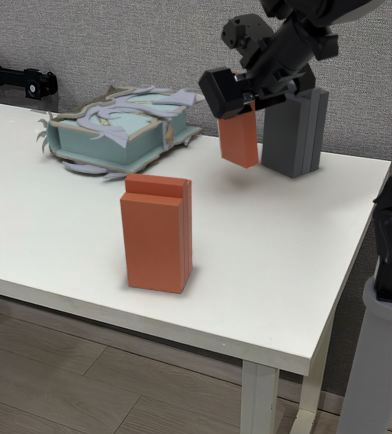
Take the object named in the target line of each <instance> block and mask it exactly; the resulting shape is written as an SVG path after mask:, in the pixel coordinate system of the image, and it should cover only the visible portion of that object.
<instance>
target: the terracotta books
mask: <svg viewBox="0 0 392 434" xmlns="http://www.w3.org/2000/svg"><path fill="white" fill-rule="evenodd" d="M192 184H193V183H192V179H187V178H183V177H174V176H163V175H154V174H143V173H129V175H128V176H125V178H124V190H125V192H124V193H123V195H122V196H120V198H119V206H120V215H121V226H122V235H123V246H124V257H125V265H126V275H127V276H126V277H127V285H128V287H131V288H138V289H146V290H152V291H159V292H166V293H173V294H180V295H181V294H182V292H183V290H184V288H185V286H186V284H187V282H188V279H189V277H190V275H191V273H192V271H193V193H192V192H193V188H192Z"/></svg>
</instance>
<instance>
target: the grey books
mask: <svg viewBox="0 0 392 434" xmlns="http://www.w3.org/2000/svg"><path fill="white" fill-rule="evenodd" d="M287 86H288V88H289V90H288V91H287V92H286V93H285V96H286V99H287V100H286V102H284V103H281V104H278V105H274V106H271V107H268V108H265V109H264V116H263V131H262V143H261V144H262V145H261V159H260V165H262V166H264V167H267V168H269V169H271V170H273V171H275V172H277V173H279V174H281V175H284V176H286V177H288V178H290V179H295V178H299V177H301V176H303V175H306V174H308V173H312V172H314V171H316V170H319V169H320V168H319V167H320V161H321V155H322V147H323V140H324V134H325V126H326V120H327V119H326V118H327V111H328V105H329V98H330V91H328V90H325V89H323V88H322V87H320V86H317V85H315V88H314V89H313V90H312V91H311V92H310V93H309V94H308V95H306V96H302V97H299V98H295V96H294V92H295V91H296V90H297V88H296V86H295V84H294V82H293V80H291V81H290V82H289V83H288V84H287Z"/></svg>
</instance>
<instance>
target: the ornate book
mask: <svg viewBox="0 0 392 434" xmlns="http://www.w3.org/2000/svg"><path fill="white" fill-rule="evenodd" d="M142 86H143V87H145V86H148V87H147V88H141V87H142ZM171 92H173V89H172V88H164V87H163V88H161V87H160V88H158V87H156V85H155V84H140V87H135V86H118V87H117V88H115V87H114V85H113V84H110V85H109V86H108V88H107V89H106V92H105V94H102V95H98V96H96V97H94V98H93V99H92V100H91V101H85V102H83V103H81V104H79V105H78V106H76V107H75V108H73V109H71V110H69V111H66V112H62V113H58V114H57V115H56V117H54V116H53V113H52V112H51V111H50V110H47V113H48V116H49V120H48V121H47V120H46V119H45V118H41V119H39V120H37V123H42V124H43V128H44V129H45V130H42V131H40V132H39V133H38V135H37V136H36V142H35V143H37V142H38V140H39V139H40V138H43V139H44V140H43V142H42V145H41V151H42V153H43V155H45V147H46V146H47V145H48V149H49V153H50V154H51V155H53V156H56V158H57V157H58V158H61V159H66V160H70V161H72V162H73V163H69V162H67V161H64V160H62V161H61V162H62V164H63V165H64V166H65V167H66V168H68V169H70V170H72V171H76V172H80V173H86V174H104V175H103V176H102V177H103V179H113V178H122V177H127V176H128V175H129V173H135V174H137V173H138V172H141V171H143V170H145V169H146V168H147V165H148V164H150V163H152V162H153V161H155V160H157V159H159V158H160V155H161V154H162V153H164V152H167V151H168V150H170V149H172V148H174V146H177V145H180V144H183V145H184V146H188V145H189V142H190V140H191V138H192V137H193V136H194V135H196V134H197V133H199V132H201V131H202V130H203V127H200V126H195V125H189V124H187V110H188V109H190V108H191V109H192V108H193V107H194V106H195V105H197V104H199V103H201V102H203V100H206V99H205V97H204V95H203V94H199V93H196V92H192V88H191V86H190V87H186V88H181V89H179V90H177V92H174V93H171Z"/></svg>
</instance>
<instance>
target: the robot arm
mask: <svg viewBox="0 0 392 434" xmlns="http://www.w3.org/2000/svg"><path fill="white" fill-rule="evenodd" d="M258 1H259V3H260V4H261V7H262V10H263V11H264V14H265V16H266V17H267V19H269V18H270V19H273V18H276V20H277V21H283V22H282V23H281V24H280V26H279V27H278V28H277V29H276V30H275V31H274V29H273V28H272V27H271V26H270V25H269V24H268V23H267V22H266V21H265V19H263V18H262V16H261V15H259V14H257V13H252V12H251V13H246V14H240V15H239V14H238V15H235V16H233V17H232V18H229V19H228V20H227V22H226V23H225V24H224V25H223V26H222V31H221V34H220V39H221V41H222V42H223V43H224V44H225V45H226V46H227V48H228V49H229V50H234V49H235V50H236V52H237V53H238V54H239V55H240V56H242V57H241V58H240V60H239V61H238V62H239V64H240V66H241V69H242V70H245V71H246V72H243V73H240V74H237V75H236V74H235V73H236V72H235V73H232V72H233V71H232V69H231V68H230V67H227V66H221V67H220V66H219V67H214V68H210V69H207V70H204V71H203V72H202V74H201V75H200V77H199V78H198V81H197V85H198V86H199V89H200V91H201V93H202V95H203V96H204V97H205V99H204V100H205V102H206V103H207V105H208V107H209V109H210V112H211V114H212V116H213V118H215V119H216V120H217V119H219V120H220V119H224V120H228V119H231V118H234V117H237V116H240V115H243V114H246V113H249V112H252V111H253V110H252V108H251V106H250V103H252V102H253V101H254V100H255V112H258V111H261V110H265V108H268V107H271V106H274V105H278V104H281V103H284V102H286V100H287V99H286V96H285V93H286V92H287V91H288V90H289V88H288V86H287V84H288V83H289V82H290V81H291V80H293V82H294V84H295V86H296V88H297V90H296V91H295V92H294V96H295V98H299V97H302V96H306V95H308V94H309V93H310V92H311V91H312V90H313V89H314V88H315V86H316V82H317V78H316V76H315V73H314V72H313V69H312V67H311V66H310V63H309V62H310V61H311V60H312V59H313V58H315V60H316V61H317V62H323V61H326V60H330V59H334V58H337V57H338V56H339V54H340V53H339V52H340V46H339V37H340V36H339V34H338V33H334V32H333V31H332V28H331V26H336V25H341V24H345V23H351V22H355V21H356V22H357V21H358V20H361V19H362V18H363V17H365V16H367V15H368V14H370V13H372V12H373V11H375V10H377V9H379V8H380V7H381V6H382V5H383V4H384V3H385V2H386V1H387V0H258ZM372 203H373V204H376V205H375V206H374V207H373V209H372V213H371V220H372V221H373V227H374V236H375V246H376V247H375V249H376V255H377V256H378V259H377V262H376V266H375V270H374V274H373V275H374V279H373V288H374V289H376V300H377V301H381V302H389V303H392V175H390V176H389V177H388V178H387V179H386V181H385V183H384V185H383V188H382V190H381V192H380V194H379V195H378V196H377V197H375V198H374V199H372Z"/></svg>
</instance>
